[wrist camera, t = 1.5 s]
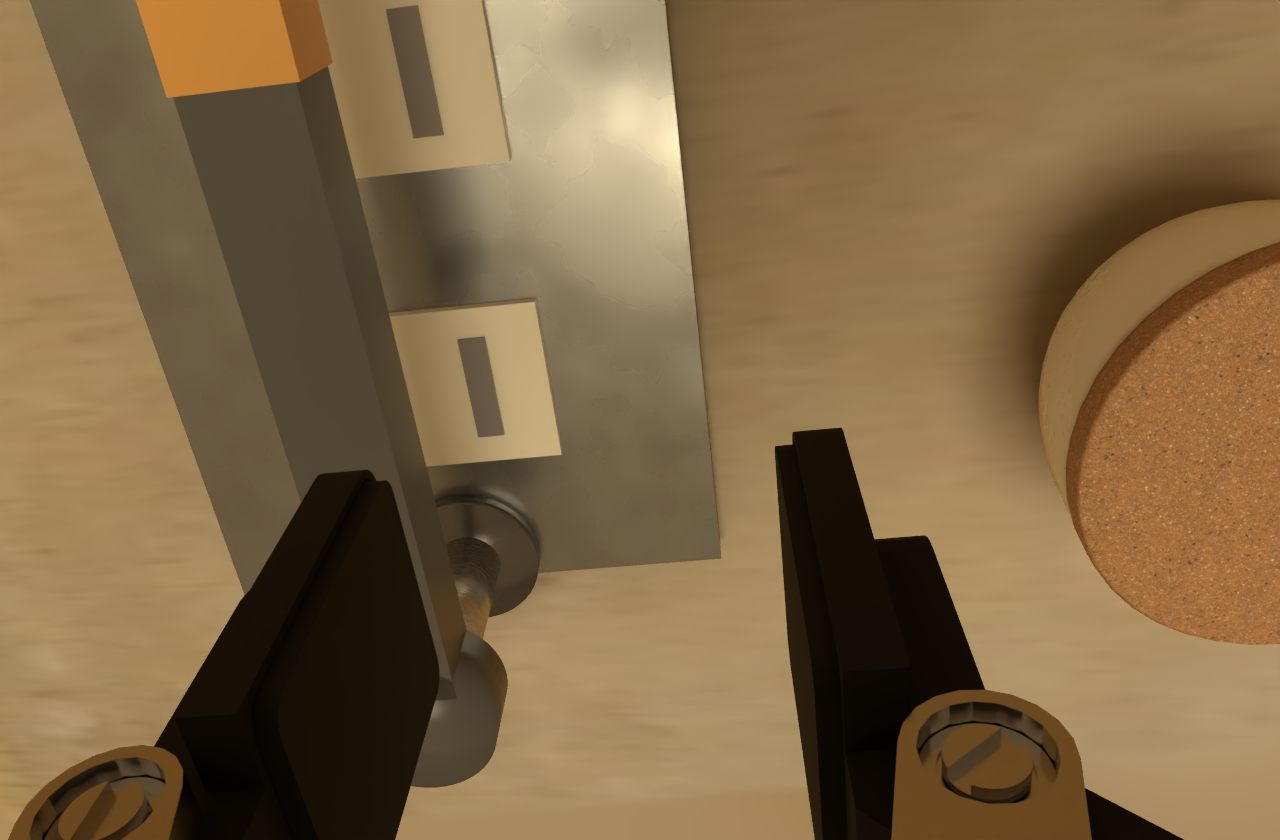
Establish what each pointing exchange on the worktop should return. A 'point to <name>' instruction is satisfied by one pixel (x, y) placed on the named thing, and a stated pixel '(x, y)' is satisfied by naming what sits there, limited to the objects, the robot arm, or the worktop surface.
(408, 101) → the label
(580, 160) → the plate
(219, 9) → the cable arm
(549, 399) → the label
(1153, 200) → the worktop surface
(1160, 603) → the lidded jar
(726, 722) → the worktop surface
